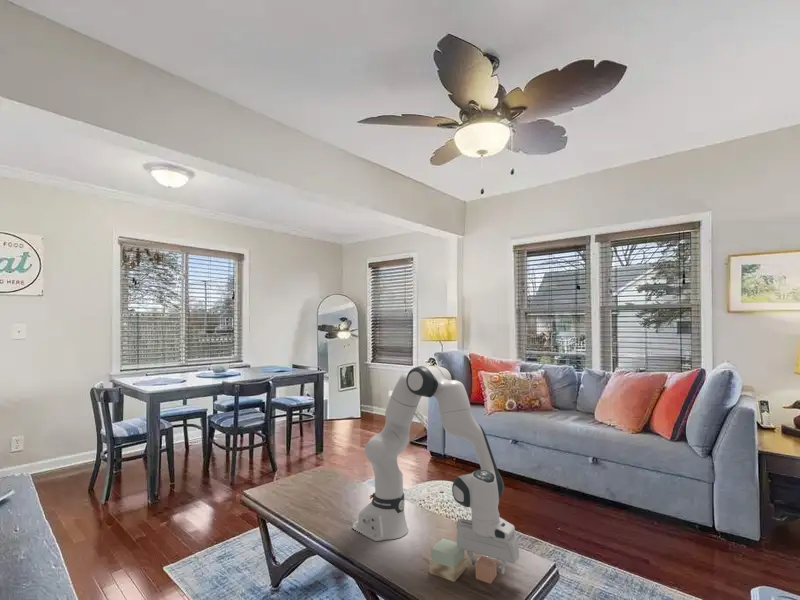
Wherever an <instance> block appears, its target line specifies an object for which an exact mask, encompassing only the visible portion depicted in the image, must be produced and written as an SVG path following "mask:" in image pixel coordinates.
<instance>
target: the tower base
mask: <svg viewBox="0 0 800 600" xmlns="http://www.w3.org/2000/svg"><path fill="white" fill-rule="evenodd" d="M467 563H468V561H467V556H465V555H464V558H463V559H462V560H461V561H460V562H459V563H458V564H457V566H456V567H455V568H454V569H453V568H450V567H447V566H444V565H441V564H438V563H435V562H432V560H430V561H429V566H428V567H429V574H431V575H434V576H437V577H441V578H442V579H445V580H449V581H451V582H456V580H458V579H459V578H460V576H461V575H462V574H463V573H464V572H465V571H466V569H467V567H468V565H467Z"/></svg>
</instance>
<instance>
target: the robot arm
mask: <svg viewBox="0 0 800 600" xmlns="http://www.w3.org/2000/svg"><path fill="white" fill-rule="evenodd" d="M421 397H425V398H426V397H427V398H431V397H433V398H435V399H436V401H437V403H438V407H439V413H440V415H439V416H440V421H441V425H442V428H443V430H445V432H446V433H447V434H449V435H450V436H451V437H453V438H456V439H460V440H462V441H463V440H464V441H467V442H468V443H470V444H471V445H472V446H473V448H474V451H475V454H476V457H477V460H478V464H479V466H480V469H477V470H474V471H473V472H471V473H467V474H462V475H459V476H456V477H455V478H454V480H453V482H452V487H451V489H452V490H451V491H452V497H453V500H454V501H455V502H456V503H457V504H458V505H461V506H463V507H464V508H469V509H471V520H470V519H465V518H463V517H461V518H459V519H458V520H457V521H456V539H455V540H456V541H455V542H456V544H457V546H458V547H459V548H461V549H463V550H464V551H466V554H467V556H468V558H469V560H470V565H471V566H475V563H476V562H477V559H478V558H477V557H475V556H474V553H475V554H479V555H481V556H482V555H484V556H488V557H491V558H495V559H496V560H499V561H501V562H500V563H501V564H499V566H498V567H497V568H498V569H497V573H498V574H501V575H504V574H505V572H506V570H505V569H506V568H505V567H506V565H507V564H508V563H509V564H515V563H517V561H518V560H519V558H520V550H519V549H520V547H519V543H518V538H517V536H516V535H515V534H514V533H515V532H516V527H515V525H514V524H512V523H511V522H508V521H507V520H506V519H504V518H502V517H500V512H499V504H500V499H501V498H502V495H503V494H504V491H505V483H504V479H503V477H502V475H501V474H500V471H499V470H498V467H497V465H496V462H495V458H494V455H493V453H492V449H491V447H490V443H489V441H488V438H487V435H486V432H485V430H484V428H483V427H482V425H481V424H479V423H478V422H477V421H476V419H475V417H474V415H473V413H472V409H471V403H470V399H469V397H468V393H467V390H466V387H465V385H464V384H463V382H461V381H459V380H456V377H455V374H454V373H453V371H452V370H451V369H450V368H448V367H445V366H443V365H424V366H423V365H420V366H415V367H413V368H411V369H410V370H409V371H407V372H404V373H402V374H401V375H400V377H399V378H398V380H397V382H396V384H395V386H394V388H393V390H392V392H391V395H390V398H389V401H388V404H387V406H386V408H385V412H384V415H385V422H384V423H385V424H384V427H383V429H382V430H381V431H380V432H378V433H376V434H375V435H373V436H372V437H371V438H370V439H369V440H368V442H367V443H366V444H365V446H364V454H365V457H366V459H367V461H368V462H370V464H371V466H372V470H373V474H374V476H373V477H374V492H373V494H370V495H369V500H371V501H370V502H369V503H368V504H367V505H365V507H363V508H362V509H361V510H360V511H359V514H358V518H357V520H356V521H354V523H353V524H352V527H351V529H352V528H353V529H354V530H353V529H352V530H353V531H355V530H356V531H355V532H357V531H358V532H357V533H359V532H360V533H359V534H361V533H362V534H361V535H363V536H365V537H367V538H369V539H371V540H373V541H375V542H380V541H384V540H386V541H387V540H395V539H399V538H402V537H404V536H405V535H406V534H407V533H408V532H409V529H408V525H407V521H406V520H407V519H406V514H405V493H404V476H403V475H404V474H403V472H402V470H401V469H400V467H399V463H398V456H399V455H400V454H402V452H404V451H406V448H407V447H408V445H409V442H410V432H411V425H412V423H413V420H414V417H415V413H416V411H417V409H418V406H419V403H420V400H421Z"/></svg>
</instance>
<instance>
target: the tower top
mask: <svg viewBox="0 0 800 600" xmlns="http://www.w3.org/2000/svg"><path fill="white" fill-rule="evenodd" d="M430 549H431V552H430V553H431V557H430V558H431V560H432V562H435V563H438V564H441V565H444V566H447V567H450V568H453V569H454V568H455V567H456V566H457V564H458V563H459V562H460V561H461V560H462V559H463V558H464V556H465V550H463V549H461V548H459V547H458V546H457V544H456V541H453V540H450V539H446V538H443V537H442V538H441V539H440V540H439V541H438V542H437V543H436V544H434V545H433V546H432V548H430ZM431 560H430V561H431Z"/></svg>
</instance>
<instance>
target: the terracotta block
mask: <svg viewBox="0 0 800 600" xmlns="http://www.w3.org/2000/svg"><path fill="white" fill-rule="evenodd" d="M479 557H480V558H479ZM479 557H478V558H479V559H478V558H477V559H478V560H477V562H476V563H475V567H474V568H475V579H476V580H477V581H481V582H485V583H488V584H490V585H491V584H492V583H493V582H494V580H495V579H496V578H497V575H498V569H497V559H496V560H495V559H491V558H488V557H485V556H482V555H481V556H479Z"/></svg>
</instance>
